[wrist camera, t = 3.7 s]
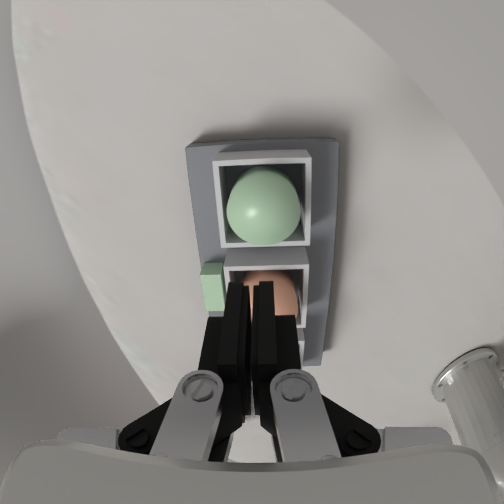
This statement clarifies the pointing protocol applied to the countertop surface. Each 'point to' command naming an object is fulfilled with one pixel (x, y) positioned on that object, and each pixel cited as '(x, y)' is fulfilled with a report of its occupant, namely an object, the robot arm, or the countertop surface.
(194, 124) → the countertop surface
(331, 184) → the button panel
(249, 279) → the terracotta button
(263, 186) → the green button
